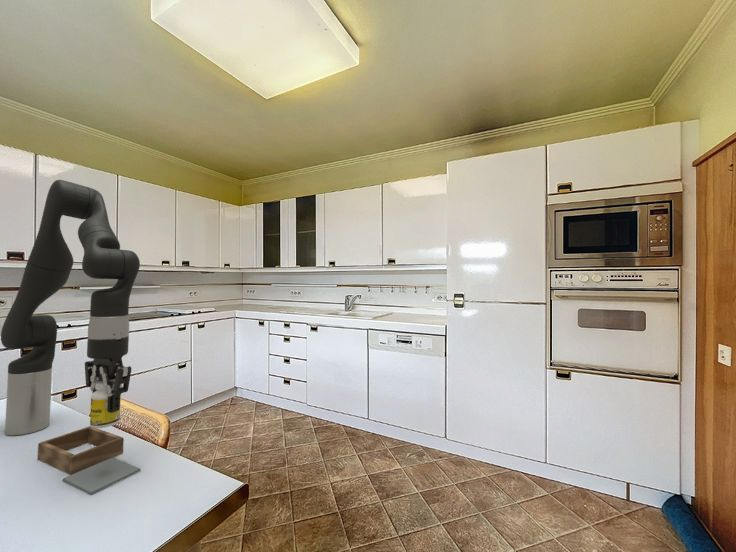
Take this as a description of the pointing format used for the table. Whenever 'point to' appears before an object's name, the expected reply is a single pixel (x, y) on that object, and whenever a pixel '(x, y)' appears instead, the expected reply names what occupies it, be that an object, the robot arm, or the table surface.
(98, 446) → the walnut box
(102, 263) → the robot arm
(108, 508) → the table surface
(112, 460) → the slate mat
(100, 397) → the supplement bottle
